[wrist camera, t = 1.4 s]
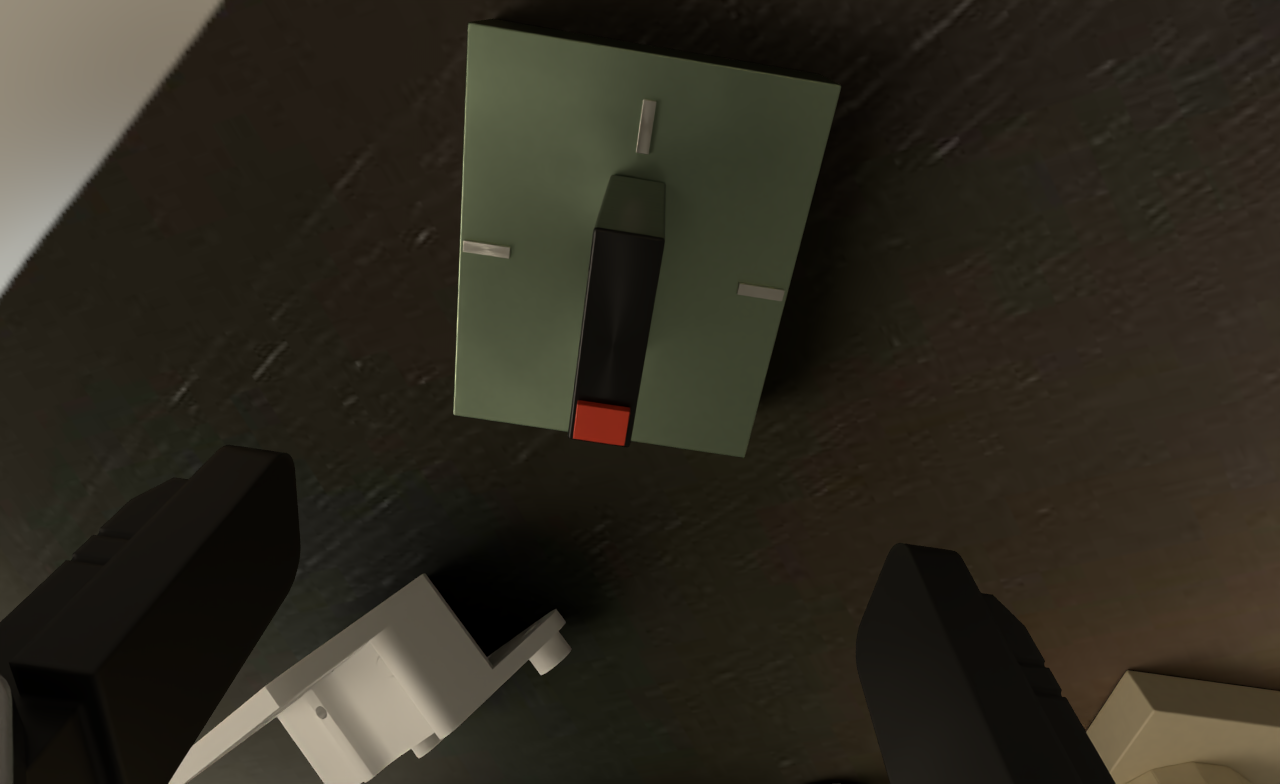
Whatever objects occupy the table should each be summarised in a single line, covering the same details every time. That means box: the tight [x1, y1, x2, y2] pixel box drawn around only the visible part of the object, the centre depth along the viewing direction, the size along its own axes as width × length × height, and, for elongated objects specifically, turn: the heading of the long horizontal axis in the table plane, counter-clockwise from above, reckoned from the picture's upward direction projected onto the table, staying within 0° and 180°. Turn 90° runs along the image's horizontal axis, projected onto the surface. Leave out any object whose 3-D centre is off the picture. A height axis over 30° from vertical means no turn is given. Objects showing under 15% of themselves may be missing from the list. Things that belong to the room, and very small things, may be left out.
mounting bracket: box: [168, 574, 572, 784], centre depth 30 cm, size 12×6×11 cm, turn 133°
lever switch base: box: [453, 19, 841, 458], centre depth 24 cm, size 12×10×3 cm
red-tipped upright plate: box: [568, 175, 666, 447], centre depth 20 cm, size 6×2×6 cm, turn 171°
